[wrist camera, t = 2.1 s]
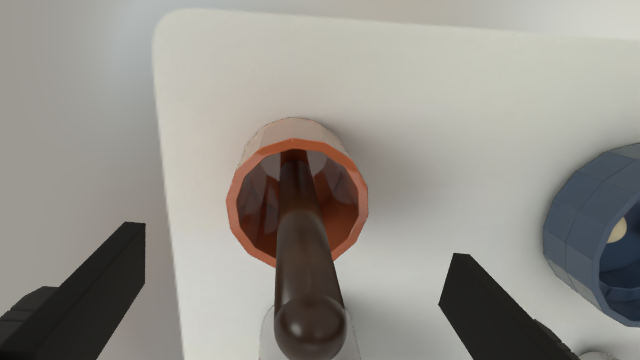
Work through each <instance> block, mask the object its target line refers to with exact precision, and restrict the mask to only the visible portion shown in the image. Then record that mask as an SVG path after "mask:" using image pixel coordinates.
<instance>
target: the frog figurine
mask: <svg viewBox="0 0 640 360" xmlns="http://www.w3.org/2000/svg"><path fill="white" fill-rule="evenodd" d="M578 358H579V359H580V360H618V359H616V358H615V357H613V356H611V355H608V354H606V353H601V352H588V353H585V354H582V355H581V356H579V357H578Z"/></svg>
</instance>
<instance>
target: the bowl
mask: <svg viewBox="0 0 640 360" xmlns="http://www.w3.org/2000/svg"><path fill="white" fill-rule="evenodd" d="M623 217H624V219H625V221H626V224H627V230H626V233H625V234H624V236H623V237H622V238H621V239H619V240H618V241H615V242H612V243H607V241H608V239H609V237H610V235H611V232H612V230H613V228H614V227H615V226H616V224H617V223H618V222H619V221H620V220H621V219H622V218H623ZM543 246H544V256H545V258H546V260H547V261H548V263H549V265H550V267H551V268H552V270H553V272H554V273H555V275H556V276H557V277H558V278H559V279H561V280H562V281H563V282H565V283H566V284H567V285H568V286H570V287H571V288H572V289H573V290H575V291H576V292H577V293H579V294H580V295H581V296H582V297H584V298H585V299H586V300H587V301H589V302H590V303H591V304H592V305H594V306H595V307H596V308H598V309H599V310H600V311H601V312H603V313H604V314H606V315H607V316H609V317H611V318H612V319H614V320H616V321H618V322H619V323H621V324H623V325H625V326H627V327H639V328H640V143H637V144H633V145H629V146H625V147H622V148H618V149H614V150H610V151H607V152H605V153H603V154H602V155H600V156H599V157H597V158H596V159H594V160H593V161H591V162H590V163H588V164H587V165H585V166H584V167H582V168H581V169H579V170H578V171H576V172H575V173H574V174H573V176H572V177H571V178H570V179H569V181H568V182H567V183H566V184H565V185H564V187H563V188H562V189H561V190H560V192H559V193H558V194H557V195H556V196H555V198H554V200H553V202H552V205H551V208H550V210H549V213H548V215H547V218H546V221H545V223H544V226H543Z"/></svg>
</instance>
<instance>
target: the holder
mask: <svg viewBox="0 0 640 360" xmlns="http://www.w3.org/2000/svg"><path fill="white" fill-rule="evenodd" d="M291 160H300V161H303V162H304V163H306V164H307V165H308V166H309V168H310V170H311V173H312V177H313V181H314V186H315V190H316V194H317V198H318V202H319V206H320V210H321V214H322V218H323V222H324V226H325V230H326V234H327V239H328V243H329V247H330V251H331V255H332V259H333V261H334V260H336V259H337V258H338V257H339V256H340V255H341V254H343V253H344V252H345V251H346V250H347V249H348V248H350V247H351V246H352V245H353V244H354V243H355V242H356V241H357V239H358V237H359V234H360V232H361V230H362V228H363V226H364V224H365V222H366V219H367V217H368V187H367V185H366V183H365V181H364V179H363V177H362V176H361V174H360V172H359V170H358V168H357V167H356V165H355V163H354V161H353V160H352V158H351V157H350V156H349V154H348V153H347V151H346V150H345V148H344V147H343V145H342V144H341V143H340V141H339V140H338V138H337V137H336V135H335V134H333V133H332V132H330V131H329V130H328V129H327V128H325V127H324V126H322V125H321V124H319V123H317V122H316V121H312V120H308V119H304V118H286V119H281V120H278V121H275V122H272V123H270V124H268V125H266V126H265V127H264V128H262V129H261V130H260V131H259V132H258V133H257V134H256V135H255V136H254V137H253V138H252V139H251V140H250V141H249V142H248V144H247V146H246V149H245V151H244V153H243V155H242V158H241V160H240V162H239V164H238V167H237V169H236V171H235V174H234V177H233V180H232V183H231V186H230V189H229V192H228V194H227V197H226V206H227V212H228V218H229V224H230V229H231V231H232V233H233V234H234V235H235V237H236V238H237V239H238V241H239V242H240V243H241V245H242V246H243V247H244V249H245V250H246V251H247V253H248V254H250V255H251V256H253V257H255V258H257V259H259V260H261V261H263V262H265V263H267V264H268V265H270V266H272V267H274V268H276V253H277V227H278V202H279V177H280V171H281V168H282V167H283V165H284V164H285V163H287V162H288V161H291Z"/></svg>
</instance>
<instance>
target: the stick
mask: <svg viewBox="0 0 640 360" xmlns="http://www.w3.org/2000/svg"><path fill="white" fill-rule="evenodd" d="M347 330H348V324H347V316H346V312H345V308H344V304H343V300H342V296H341V291H340V287H339V283H338V279H337V275H336V271H335V267H334V263H333V259H332V255H331V251H330V247H329V243H328V239H327V234H326V230H325V226H324V222H323V218H322V214H321V210H320V206H319V202H318V198H317V194H316V190H315V186H314V181H313V177H312V173H311V170H310V168H309V166H308V165H307V164H306V163H304V162H303V161H300V160H291V161H288V162H287V163H285V164H284V165H283V167H282V168H281V171H280V177H279V202H278V227H277V253H276V278H275V303H274V336H275V340H276V342H277V345H278V347H279V349H280V350H281V352H282V353H283V354H284V355H285V356H286V358H288V359H289V360H332V359H333V358H334V357H335V356H336V355H337V354H338V353H339V352H340V350H341V348H342V347H343V345H344V343H345V340H346V336H347Z"/></svg>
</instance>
